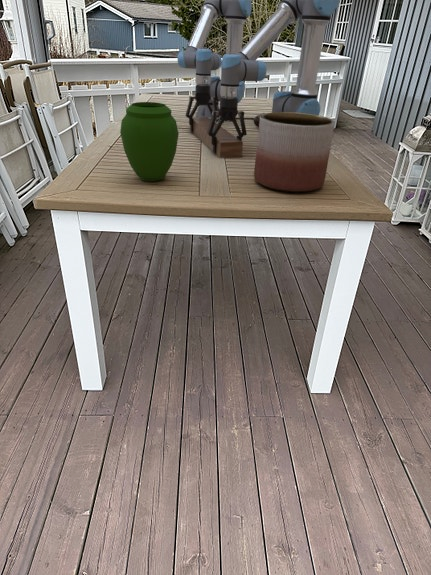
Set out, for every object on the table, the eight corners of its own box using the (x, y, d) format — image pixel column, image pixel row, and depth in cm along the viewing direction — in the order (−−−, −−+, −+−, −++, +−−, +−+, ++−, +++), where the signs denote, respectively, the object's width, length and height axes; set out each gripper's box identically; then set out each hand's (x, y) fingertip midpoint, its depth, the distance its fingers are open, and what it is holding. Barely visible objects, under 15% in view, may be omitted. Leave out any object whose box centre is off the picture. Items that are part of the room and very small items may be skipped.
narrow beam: (189, 129, 221) (189, 117, 217) (207, 129, 223) (207, 117, 220) (219, 157, 175) (220, 142, 171) (241, 157, 177) (242, 141, 174)
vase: (131, 189, 135) (125, 110, 122) (118, 172, 150) (112, 100, 137) (186, 184, 142) (187, 109, 129) (169, 168, 157) (167, 99, 144)
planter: (334, 194, 140) (348, 126, 129) (263, 195, 136) (271, 125, 125) (308, 172, 162) (318, 112, 150) (246, 172, 157) (251, 111, 146)
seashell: (267, 127, 236) (269, 112, 232) (270, 129, 231) (271, 114, 227) (251, 126, 235) (253, 111, 230) (253, 128, 230) (255, 113, 226)
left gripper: (182, 85, 198) (182, 133, 210) (226, 86, 204) (224, 132, 216) (179, 83, 204) (179, 130, 216) (222, 84, 210) (220, 129, 222)
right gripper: (205, 98, 164) (203, 154, 176) (257, 98, 170) (252, 153, 182) (200, 95, 170) (199, 150, 182) (251, 96, 176) (246, 149, 188)
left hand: (201, 131), depth 216 cm, fingers closed on narrow beam, 10 cm apart
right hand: (225, 151), depth 182 cm, fingers closed on narrow beam, 10 cm apart
